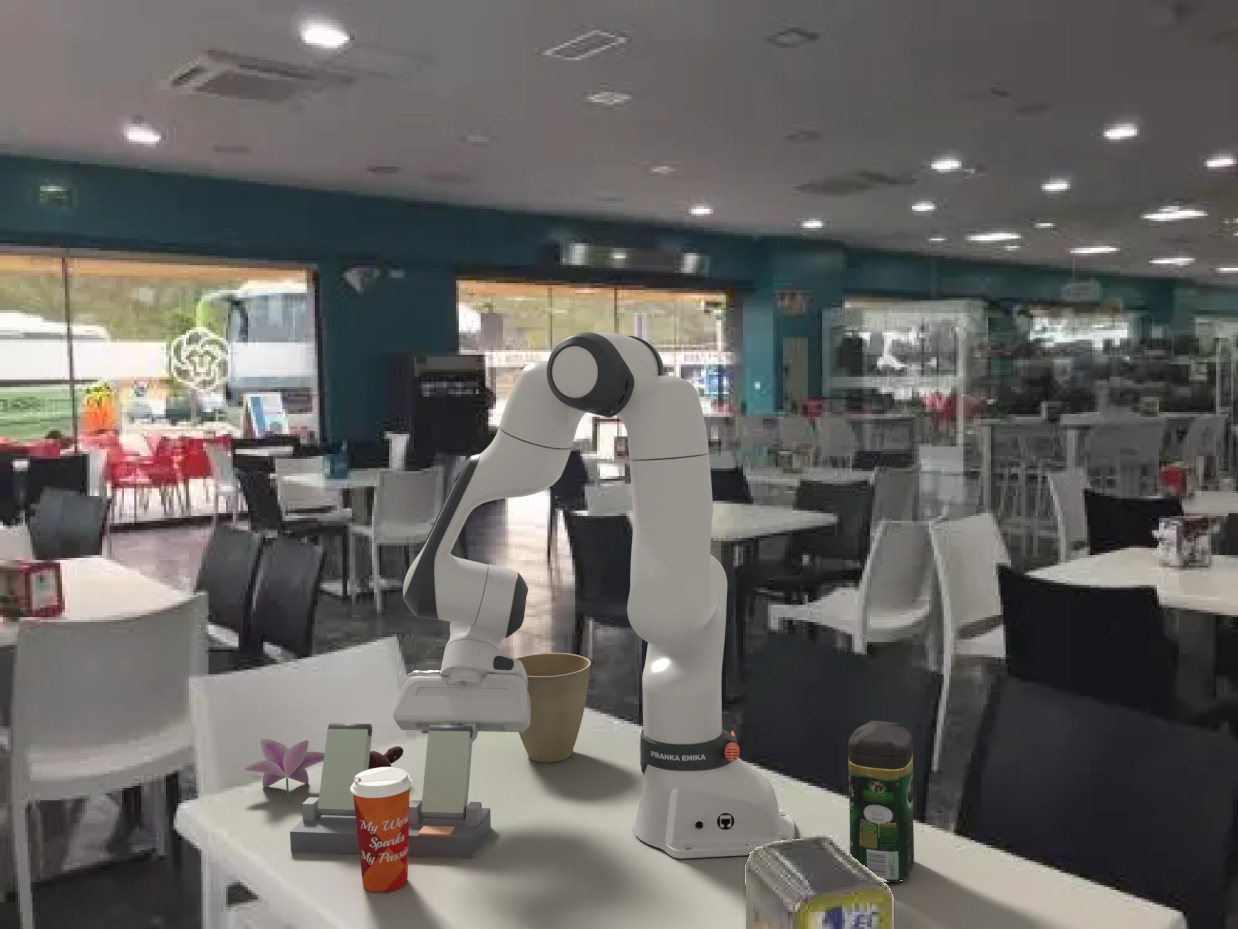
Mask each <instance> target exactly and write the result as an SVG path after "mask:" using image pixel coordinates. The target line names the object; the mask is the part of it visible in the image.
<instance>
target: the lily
mask: <svg viewBox="0 0 1238 929" xmlns="http://www.w3.org/2000/svg"><path fill="white" fill-rule="evenodd" d="M309 743H310V742H309V740H307V739H305V740H303V741H301V742H298V743H297V744H294V745H293V746H291V747H290V748H289V747H288V746H286V745H285V744H282V743H281V742H279V741H276V740H273V739H268V738H263V739H262V738H261V740H260V746H261V747H260V748H261V751H262V756H263V757H264V760H261V761H258V762H254V763H252V764H250V765H248V766H246V767H244V771H248V772H256V773H257V772H258V773H263V776H262V787H263V788H269V787H270V786H272V785H274V784H276V783H277V782H280V781H281V780H284V779H285V786H286V787H285V788H286V795H287V796H286V797H287V803H288V804H289V803H291V799H290V789H289V788H290V787H289V779H291V780H294V781H297V782H300V783H303V784H306V785H308V784H309V783H310V779H309V775H308V771H307V768H309V767H312V766H313V765H316V764H319V763H321V762H324V754H325V752H321V751H311V750H310V751H308V747H309ZM307 783H308V784H307Z"/></svg>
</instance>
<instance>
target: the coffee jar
mask: <svg viewBox="0 0 1238 929" xmlns="http://www.w3.org/2000/svg"><path fill="white" fill-rule="evenodd" d="M847 743H848V744H847V745H848V755H847V756H848V757H847V761H848V762H847V763H848V764H847V765H848V787H849V788H848V789H849V790H848V792H849V794H848V795H849V797H848V798H849V800H848V801H849V804H848V805H849V855H850V854H851V855H852V857H854V858H855V859H857V860H858V861H859V862H860V863H861V864H862V865H865V867H867V868H868V869H869V870H871V871H872V872H873V873H875V874H876V875H877V877H880V878H883V879H885V880H887V881H889V882H888V883H896V882H895V881H900V880H904V879H905V878H906V879H908V878H909V876H910V874H911V872H912V870H913V867H914V864H915V836H914V746H913V744H914V740H913V736H912V734H911V733H910V732H909V730H908V729H906V728H905V727H904V726H902V724H901V723H898V722H890V721H880V720H870V721H869V722H867V723H866V724H862V725H861V726H859V727H858V728H856V729H855V730H854V731H853V732H852V734H851V735H850V736H849V739H848V742H847ZM906 879H905V880H906ZM905 880H904V881H905Z"/></svg>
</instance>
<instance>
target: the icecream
mask: <svg viewBox="0 0 1238 929" xmlns="http://www.w3.org/2000/svg"><path fill="white" fill-rule="evenodd" d="M404 752H405V751H404V749H403V747H401V746H393V747H391V748H389V749H388V750H387V751H386V752H385V753H384V754H383V753H380V752H378V751H375V750H370V757H369V766H368V770H369V769H373V768H380V767H392V764H393V763H395V762H397V761H398V760H400V759H401V757H403V755H404Z"/></svg>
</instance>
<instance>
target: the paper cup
mask: <svg viewBox="0 0 1238 929" xmlns="http://www.w3.org/2000/svg"><path fill="white" fill-rule="evenodd" d="M413 783H414V781H413V779H412V778H411V775H410V774H409V773H408V772H407V771H406V770H405V769H404V768H399V767H393V766H391V767H380V768H373V769H369V770H366V771H363V772H361V773H359V774H357V775H356V776H355V778H354V781H353V784H352V786H351V788H350V791H351V793H352V794H353V797H354V807H355V816H356V826H357V836H358V846H359V854H358V855H359V863H360V871H361V880H362V886H363V888H364V890H365V891H368V892H370V893H375V894H381V893H382V894H383V893H390V892H394V891H397V890H399V889H401V888H403V887H405V885H406V884H407V882H408V876H409V875H408V872H409V856H408V846H409V802H410V796H411V795H410V789H411V787H412V785H413Z"/></svg>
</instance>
